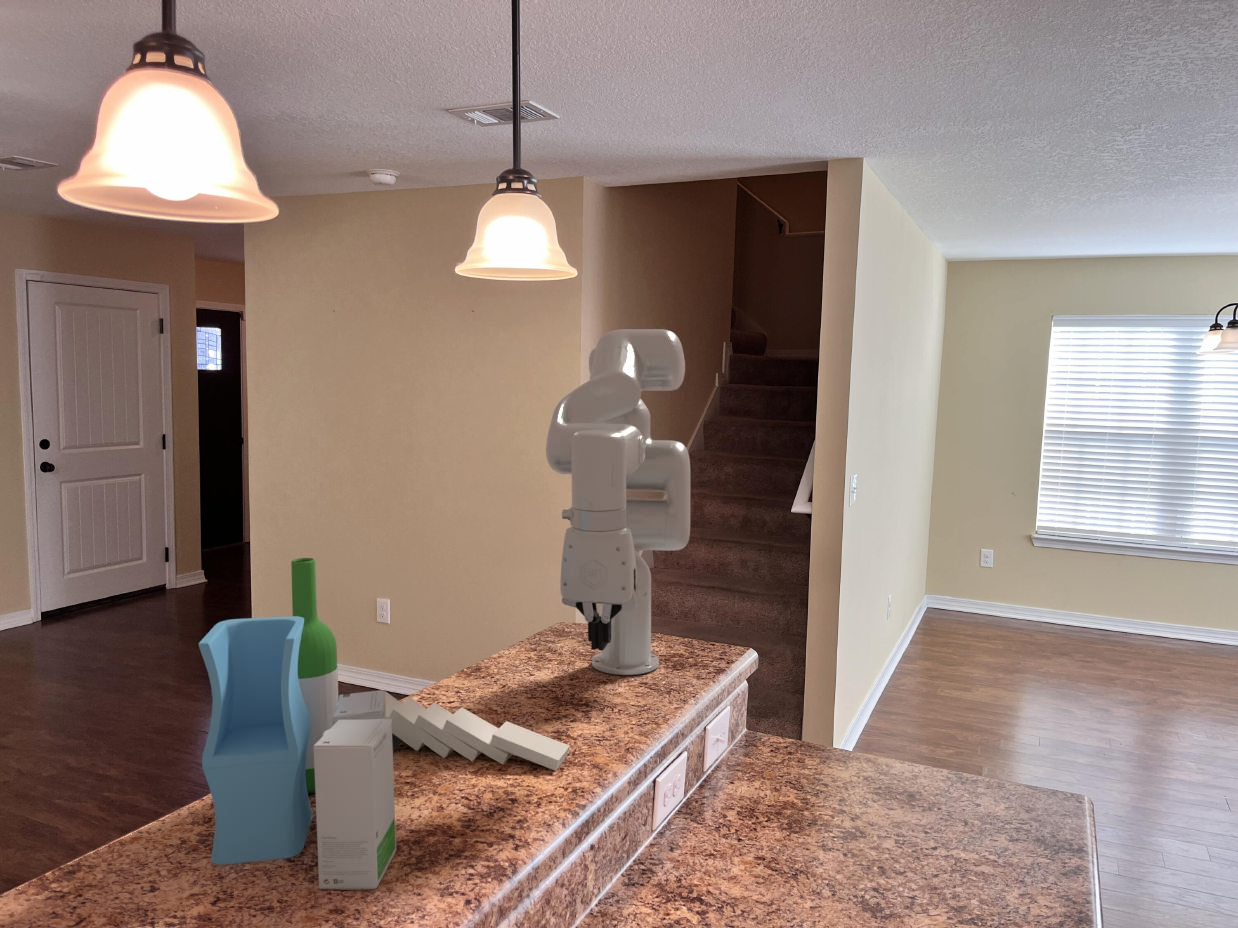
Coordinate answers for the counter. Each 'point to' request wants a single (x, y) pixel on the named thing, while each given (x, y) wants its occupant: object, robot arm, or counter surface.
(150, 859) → the counter surface
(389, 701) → the domino
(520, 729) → the domino
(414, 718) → the domino
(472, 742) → the domino
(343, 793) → the skincare box
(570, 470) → the robot arm
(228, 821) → the blue chair
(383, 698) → the skincare box
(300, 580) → the wine bottle
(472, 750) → the domino
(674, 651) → the counter surface
